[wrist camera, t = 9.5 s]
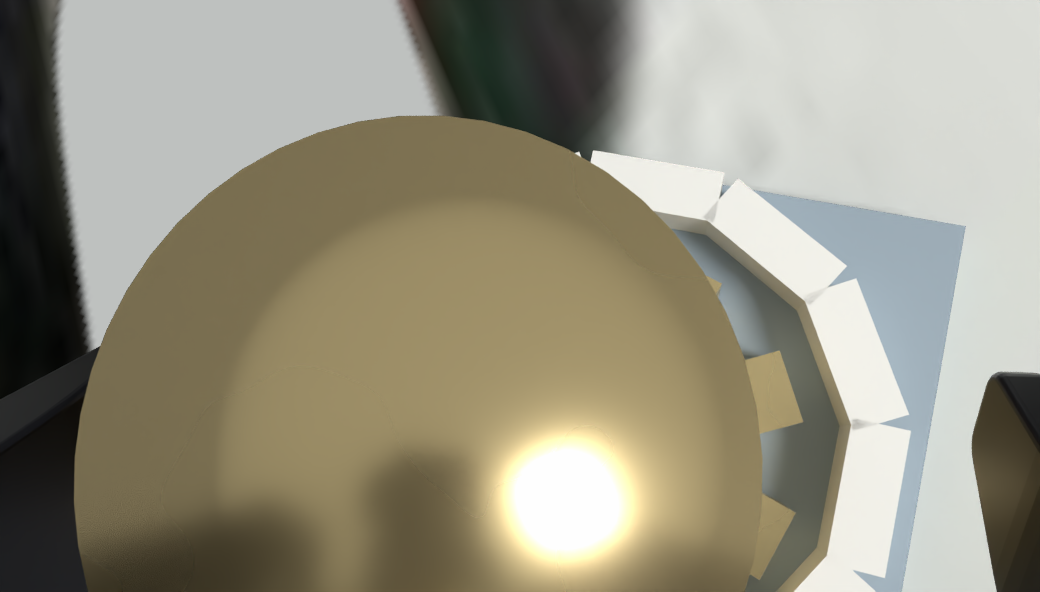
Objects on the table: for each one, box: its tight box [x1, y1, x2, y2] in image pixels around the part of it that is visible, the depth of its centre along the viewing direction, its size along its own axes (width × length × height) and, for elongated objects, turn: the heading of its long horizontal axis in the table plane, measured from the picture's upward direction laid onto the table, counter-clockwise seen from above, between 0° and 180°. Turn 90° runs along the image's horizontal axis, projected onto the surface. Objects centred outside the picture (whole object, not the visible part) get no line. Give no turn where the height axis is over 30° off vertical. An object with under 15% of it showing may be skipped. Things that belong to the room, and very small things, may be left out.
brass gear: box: [74, 116, 803, 592], centre depth 11 cm, size 7×7×13 cm
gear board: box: [575, 150, 966, 592], centre depth 17 cm, size 17×12×2 cm
